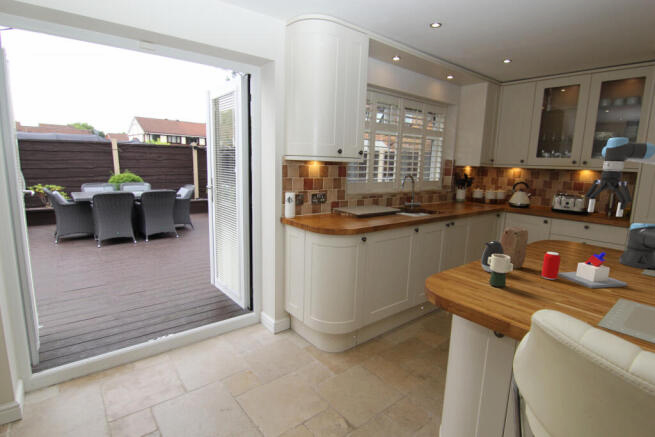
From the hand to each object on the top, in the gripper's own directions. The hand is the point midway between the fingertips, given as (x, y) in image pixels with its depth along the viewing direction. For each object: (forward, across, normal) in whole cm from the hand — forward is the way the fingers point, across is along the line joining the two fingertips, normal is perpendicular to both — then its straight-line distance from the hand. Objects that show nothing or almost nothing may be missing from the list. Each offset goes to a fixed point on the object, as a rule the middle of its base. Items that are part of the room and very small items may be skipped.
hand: (604, 214), depth 161 cm
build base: (+29, +13, -18) cm, 36 cm away
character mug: (+29, +13, -68) cm, 75 cm away
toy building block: (+22, +13, -18) cm, 31 cm away
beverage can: (+29, +8, -36) cm, 47 cm away
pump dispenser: (+29, -4, -57) cm, 64 cm away
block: (+29, -10, -41) cm, 51 cm away
